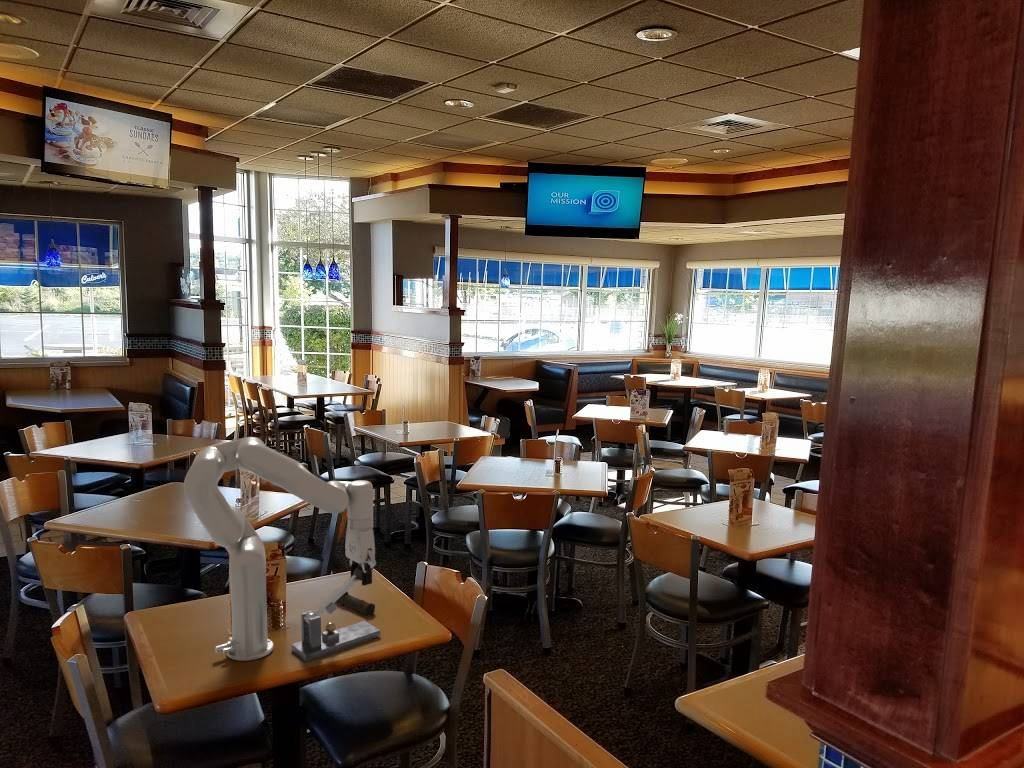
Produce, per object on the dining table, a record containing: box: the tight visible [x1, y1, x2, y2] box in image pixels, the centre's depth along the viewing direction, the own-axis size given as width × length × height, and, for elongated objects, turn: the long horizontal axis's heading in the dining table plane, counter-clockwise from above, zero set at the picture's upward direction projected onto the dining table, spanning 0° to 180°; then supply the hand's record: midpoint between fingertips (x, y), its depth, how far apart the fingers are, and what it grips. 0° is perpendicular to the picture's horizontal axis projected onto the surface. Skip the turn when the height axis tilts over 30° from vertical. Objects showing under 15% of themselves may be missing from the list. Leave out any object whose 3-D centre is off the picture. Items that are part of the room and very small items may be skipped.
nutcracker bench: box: [291, 610, 381, 663], centre depth 214 cm, size 24×9×11 cm, turn 132°
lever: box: [304, 564, 363, 624], centre depth 214 cm, size 23×4×5 cm, turn 133°
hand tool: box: [335, 591, 376, 617], centre depth 241 cm, size 19×4×5 cm, turn 48°
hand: (361, 580), depth 219 cm, fingers open, 5 cm apart
